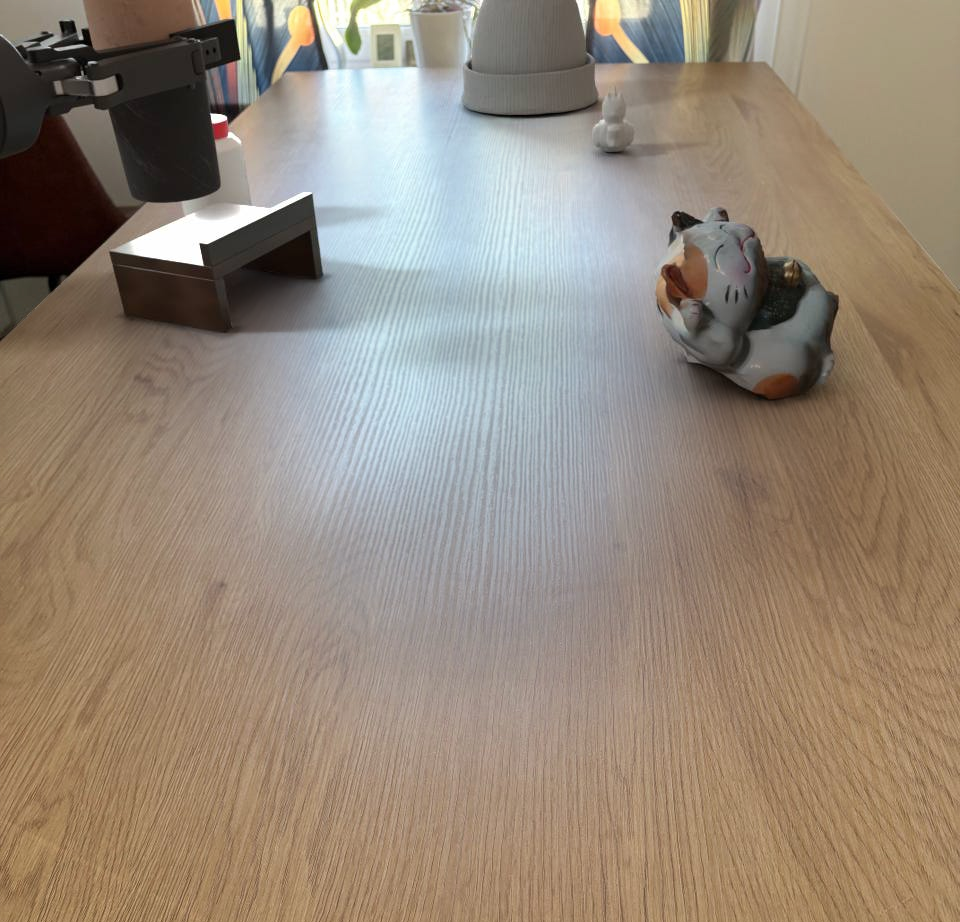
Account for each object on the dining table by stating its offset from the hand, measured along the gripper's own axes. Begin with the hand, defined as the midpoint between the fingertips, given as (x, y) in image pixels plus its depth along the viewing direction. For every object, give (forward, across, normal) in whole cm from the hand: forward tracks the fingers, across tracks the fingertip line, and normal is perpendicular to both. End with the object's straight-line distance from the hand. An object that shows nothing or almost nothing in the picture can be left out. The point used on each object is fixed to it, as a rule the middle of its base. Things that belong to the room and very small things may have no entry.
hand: (190, 36), depth 83 cm
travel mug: (-5, 0, -10) cm, 11 cm away
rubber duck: (+69, +8, -24) cm, 73 cm away
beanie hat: (+91, -15, -24) cm, 96 cm away
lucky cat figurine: (+10, +43, -24) cm, 50 cm away
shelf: (+8, -8, -24) cm, 26 cm away
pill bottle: (+25, -23, -24) cm, 42 cm away
